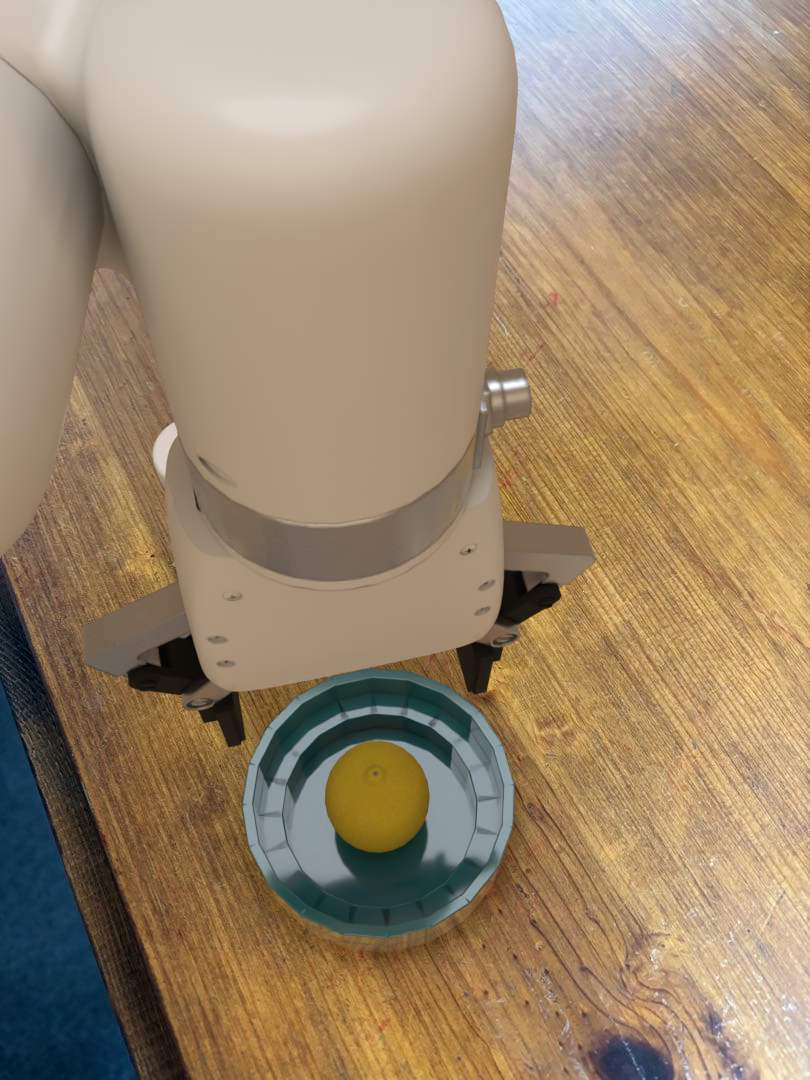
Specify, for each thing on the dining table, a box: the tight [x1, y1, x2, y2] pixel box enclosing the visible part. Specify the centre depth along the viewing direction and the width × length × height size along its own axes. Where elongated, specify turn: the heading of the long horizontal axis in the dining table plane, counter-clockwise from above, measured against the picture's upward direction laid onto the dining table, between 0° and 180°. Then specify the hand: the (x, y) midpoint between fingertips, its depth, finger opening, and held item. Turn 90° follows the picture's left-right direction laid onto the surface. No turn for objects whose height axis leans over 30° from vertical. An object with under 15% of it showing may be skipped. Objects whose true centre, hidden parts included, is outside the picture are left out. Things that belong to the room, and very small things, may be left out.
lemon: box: [325, 741, 430, 853], centre depth 56 cm, size 6×6×8 cm
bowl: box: [241, 667, 516, 953], centre depth 58 cm, size 14×14×5 cm
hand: (351, 684), depth 43 cm, fingers open, 9 cm apart
